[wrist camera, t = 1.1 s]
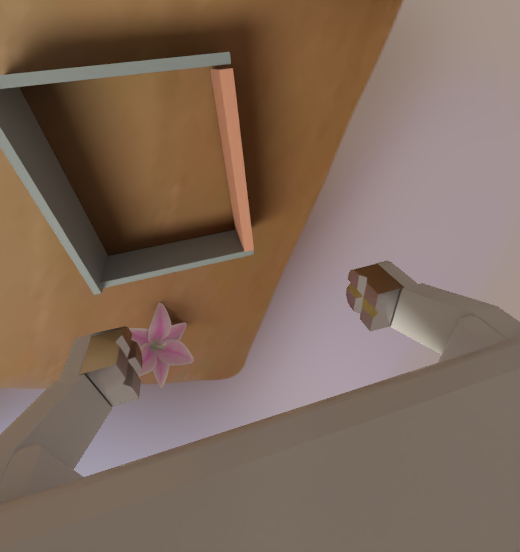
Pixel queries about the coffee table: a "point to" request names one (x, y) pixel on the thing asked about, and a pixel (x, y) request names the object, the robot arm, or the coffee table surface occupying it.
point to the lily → (161, 345)
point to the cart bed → (62, 199)
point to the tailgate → (233, 151)
